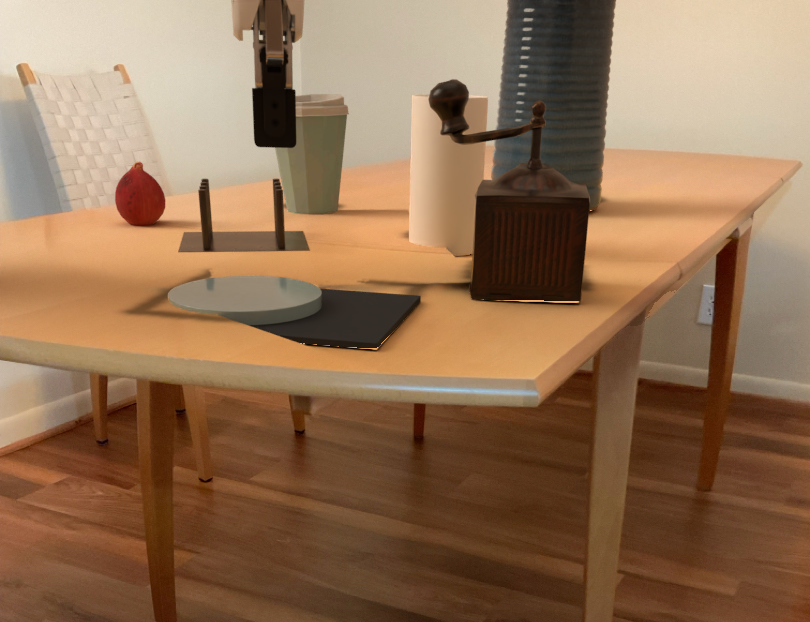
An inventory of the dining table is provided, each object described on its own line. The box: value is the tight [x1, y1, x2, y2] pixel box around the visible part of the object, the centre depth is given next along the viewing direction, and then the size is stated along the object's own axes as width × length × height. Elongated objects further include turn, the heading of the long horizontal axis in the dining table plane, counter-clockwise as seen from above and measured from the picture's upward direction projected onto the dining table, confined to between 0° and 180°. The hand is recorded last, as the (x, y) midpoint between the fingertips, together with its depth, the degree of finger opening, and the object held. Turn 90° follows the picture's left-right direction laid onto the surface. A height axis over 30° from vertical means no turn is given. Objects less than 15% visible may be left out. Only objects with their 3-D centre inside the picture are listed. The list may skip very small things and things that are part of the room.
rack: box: [177, 178, 311, 253], centre depth 102 cm, size 12×14×7 cm
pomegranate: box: [114, 161, 166, 227], centre depth 110 cm, size 6×6×8 cm
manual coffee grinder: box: [428, 78, 590, 302], centre depth 85 cm, size 16×11×18 cm
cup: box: [408, 93, 489, 257], centre depth 102 cm, size 8×8×16 cm
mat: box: [250, 287, 422, 348], centre depth 78 cm, size 20×16×1 cm
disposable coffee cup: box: [274, 93, 350, 215], centre depth 120 cm, size 11×11×15 cm
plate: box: [167, 275, 322, 327], centre depth 78 cm, size 1×13×13 cm
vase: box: [490, 0, 617, 211], centre depth 128 cm, size 16×16×32 cm
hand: (275, 145), depth 71 cm, fingers closed
